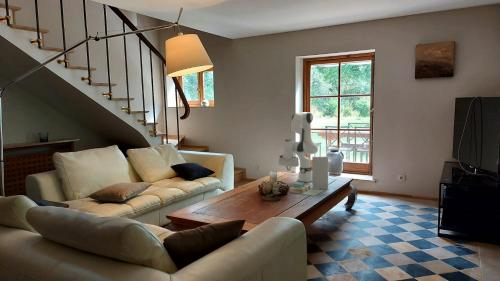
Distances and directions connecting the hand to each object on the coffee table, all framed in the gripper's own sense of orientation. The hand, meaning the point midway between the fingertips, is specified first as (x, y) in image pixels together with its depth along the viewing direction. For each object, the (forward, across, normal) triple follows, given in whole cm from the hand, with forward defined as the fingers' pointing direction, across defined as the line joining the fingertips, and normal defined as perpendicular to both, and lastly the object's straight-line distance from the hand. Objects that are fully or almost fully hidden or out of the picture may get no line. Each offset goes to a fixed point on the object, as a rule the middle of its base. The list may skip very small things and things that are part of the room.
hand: (288, 170), depth 328 cm
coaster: (+14, -11, 0) cm, 18 cm away
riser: (+18, -12, 0) cm, 22 cm away
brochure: (+18, -24, -18) cm, 35 cm away
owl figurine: (+19, -4, +38) cm, 42 cm away
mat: (+18, -25, 0) cm, 31 cm away
